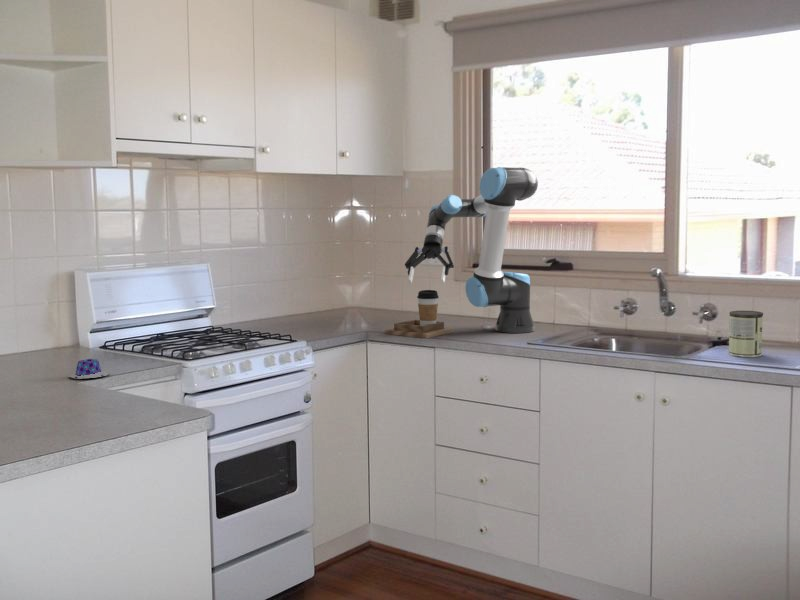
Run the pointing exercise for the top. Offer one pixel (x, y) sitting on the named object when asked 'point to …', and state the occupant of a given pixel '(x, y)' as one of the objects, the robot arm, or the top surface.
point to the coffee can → (745, 333)
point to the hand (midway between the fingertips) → (426, 281)
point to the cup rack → (418, 329)
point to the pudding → (87, 367)
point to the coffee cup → (427, 306)
